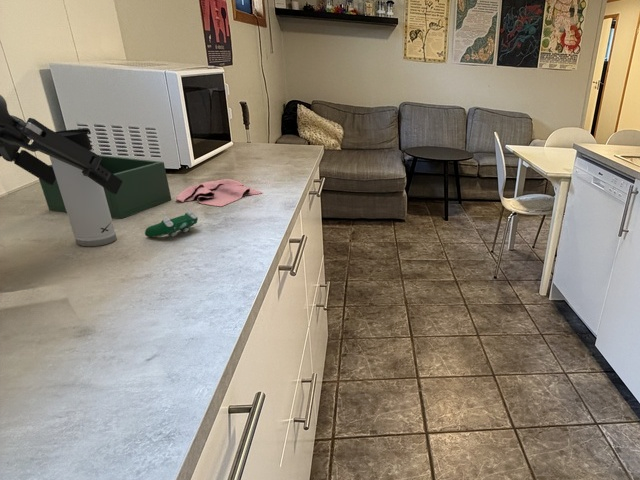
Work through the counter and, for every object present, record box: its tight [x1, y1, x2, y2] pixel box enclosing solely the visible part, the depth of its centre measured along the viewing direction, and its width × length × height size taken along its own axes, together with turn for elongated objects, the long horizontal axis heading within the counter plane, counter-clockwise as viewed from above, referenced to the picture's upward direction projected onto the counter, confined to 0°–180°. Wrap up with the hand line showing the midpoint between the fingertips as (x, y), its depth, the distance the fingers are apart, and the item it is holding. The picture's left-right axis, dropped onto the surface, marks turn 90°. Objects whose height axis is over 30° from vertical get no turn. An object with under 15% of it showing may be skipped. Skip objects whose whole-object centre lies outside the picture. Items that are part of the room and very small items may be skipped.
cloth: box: [175, 178, 264, 208], centre depth 120 cm, size 20×22×2 cm
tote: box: [38, 154, 172, 220], centre depth 106 cm, size 17×16×9 cm
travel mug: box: [48, 127, 118, 247], centre depth 84 cm, size 6×7×20 cm
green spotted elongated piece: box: [144, 209, 198, 238], centre depth 94 cm, size 9×4×6 cm
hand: (85, 183), depth 84 cm, fingers open, 13 cm apart
